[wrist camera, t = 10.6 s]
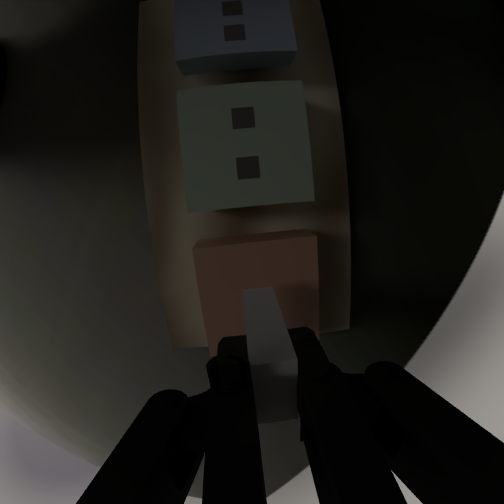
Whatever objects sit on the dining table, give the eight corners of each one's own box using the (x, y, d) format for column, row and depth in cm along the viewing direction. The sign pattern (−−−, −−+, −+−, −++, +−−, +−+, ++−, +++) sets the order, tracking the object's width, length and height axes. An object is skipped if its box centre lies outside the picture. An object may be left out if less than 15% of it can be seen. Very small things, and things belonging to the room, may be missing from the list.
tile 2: (194, 208, 19) (187, 213, 16) (184, 103, 17) (176, 90, 14) (303, 198, 19) (314, 200, 16) (293, 93, 17) (302, 80, 14)
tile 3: (183, 76, 17) (175, 60, 14) (180, -1, 15) (174, -21, 12) (289, 67, 17) (297, 50, 14) (276, -9, 15) (282, -29, 12)
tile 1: (213, 335, 21) (210, 356, 18) (198, 239, 19) (192, 248, 16) (309, 324, 21) (319, 343, 18) (305, 228, 19) (316, 236, 17)
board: (174, 343, 23) (168, 360, 20) (142, 6, 16) (133, -9, 14) (346, 324, 23) (357, 339, 21) (314, -8, 17) (321, -24, 14)
